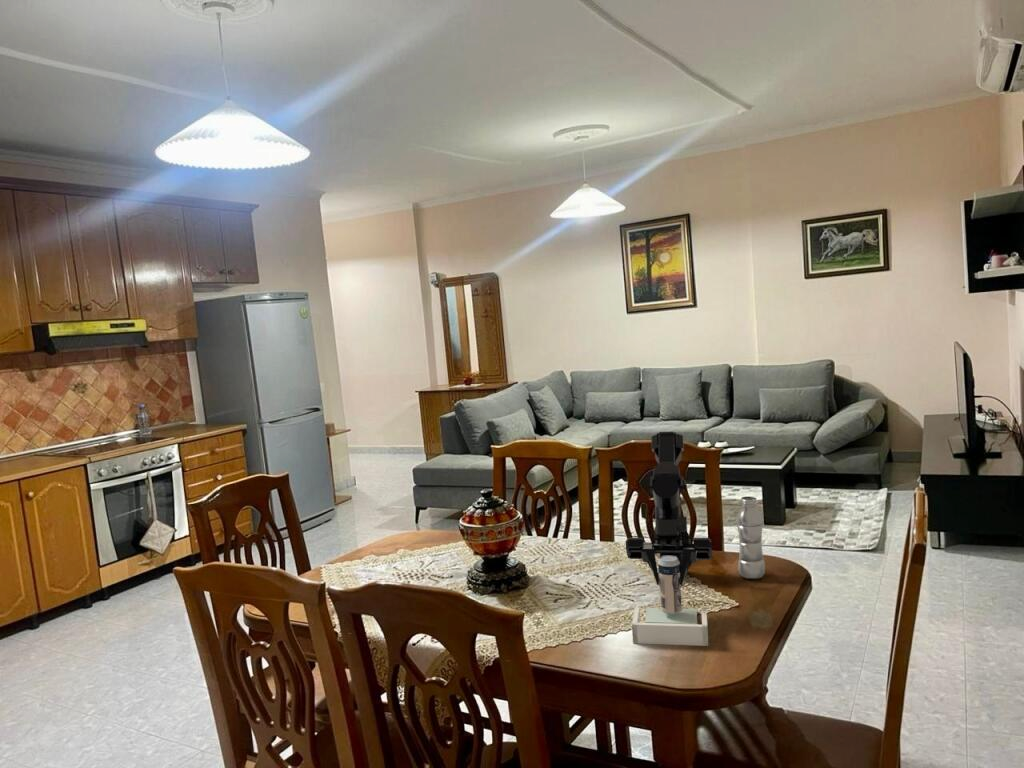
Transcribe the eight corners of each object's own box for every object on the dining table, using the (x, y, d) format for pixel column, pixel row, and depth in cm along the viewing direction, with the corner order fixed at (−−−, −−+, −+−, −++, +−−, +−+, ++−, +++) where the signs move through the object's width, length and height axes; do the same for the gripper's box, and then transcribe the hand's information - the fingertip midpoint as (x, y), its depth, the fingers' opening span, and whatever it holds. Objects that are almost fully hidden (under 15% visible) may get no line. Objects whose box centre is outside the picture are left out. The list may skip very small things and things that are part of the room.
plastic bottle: (738, 581, 180) (735, 501, 178) (738, 571, 186) (735, 494, 185) (766, 582, 178) (763, 502, 176) (765, 572, 185) (762, 494, 183)
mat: (646, 610, 167) (646, 607, 167) (696, 611, 164) (696, 609, 164) (645, 624, 159) (645, 621, 159) (697, 626, 157) (697, 623, 157)
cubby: (635, 624, 160) (634, 606, 159) (707, 626, 156) (706, 608, 156) (632, 643, 151) (631, 624, 151) (708, 645, 147) (707, 626, 147)
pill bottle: (682, 615, 159) (679, 562, 158) (660, 615, 160) (657, 562, 159) (681, 606, 164) (679, 554, 162) (660, 606, 165) (657, 554, 163)
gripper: (623, 503, 165) (622, 568, 156) (709, 502, 161) (713, 569, 152) (628, 526, 174) (627, 589, 164) (709, 526, 170) (713, 591, 160)
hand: (669, 584), depth 160 cm, fingers closed on pill bottle, 5 cm apart
